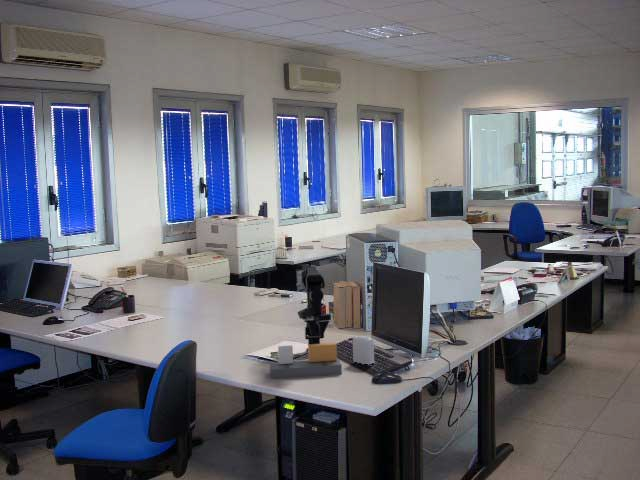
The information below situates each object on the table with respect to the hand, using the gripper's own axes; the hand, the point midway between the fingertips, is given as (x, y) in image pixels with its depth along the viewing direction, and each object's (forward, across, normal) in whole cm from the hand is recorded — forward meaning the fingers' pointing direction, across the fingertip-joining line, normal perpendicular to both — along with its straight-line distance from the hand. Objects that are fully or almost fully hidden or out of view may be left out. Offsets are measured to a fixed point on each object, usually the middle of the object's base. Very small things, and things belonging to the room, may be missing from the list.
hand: (317, 335), depth 312 cm
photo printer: (+13, +14, +15) cm, 25 cm away
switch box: (+14, +13, -13) cm, 23 cm away
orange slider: (+10, +14, -5) cm, 18 cm away
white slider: (+10, +9, -20) cm, 24 cm away
